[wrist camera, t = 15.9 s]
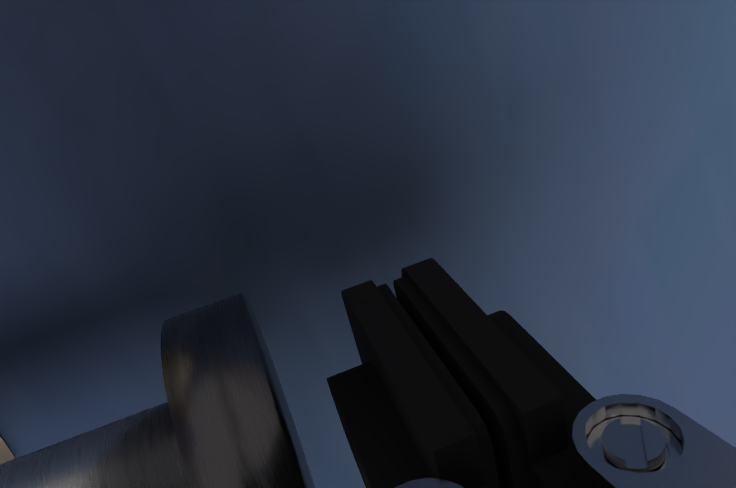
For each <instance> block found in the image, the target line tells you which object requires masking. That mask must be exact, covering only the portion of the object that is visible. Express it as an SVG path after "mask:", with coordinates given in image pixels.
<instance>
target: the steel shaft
mask: <svg viewBox="0 0 736 488" xmlns="http://www.w3.org/2000/svg"><path fill="white" fill-rule="evenodd" d="M161 358H162V369H163V376H164V383H165V389H166V394H167V400H168V402H166V403H163V404H161V405H158V406H155V407H153V408H150V409H147V410H145V411H142V412H139V413H137V414H134V415H131V416H129V417H126V418H123V419H120V420H118V421H115V422H112V423H110V424H107V425H104V426H102V427H99V428H96V429H94V430H91V431H88V432H86V433H83V434H80V435H78V436H75V437H72V438H70V439H67V440H64V441H61V442H59V443H56V444H53V445H51V446H48V447H45V448H43V449H40V450H37V451H35V452H32V453H29V454H27V455H24V456H21V457H19V458H16V459H13V460H11V461H8V462H5V463H3V464H0V488H315V486H314V483H313V479H312V476H311V473H310V470H309V467H308V464H307V461H306V458H305V454H304V451H303V448H302V445H301V442H300V439H299V436H298V433H297V430H296V427H295V424H294V421H293V418H292V415H291V412H290V410H289V407H288V404H287V401H286V398H285V395H284V392H283V389H282V387H281V384H280V381H279V378H278V375H277V373H276V370H275V367H274V364H273V362H272V359H271V356H270V353H269V351H268V348H267V345H266V343H265V340H264V338H263V335H262V332H261V330H260V327H259V325H258V322H257V320H256V317H255V315H254V313H253V310H252V308H251V306H250V304H249V302H248V300H247V298H246V296H245V294H244V293H241V294H238V295H235V296H232V297H230V298H227V299H224V300H221V301H218V302H215V303H212V304H210V305H207V306H204V307H201V308H198V309H195V310H192V311H190V312H187V313H184V314H181V315H178V316H175V317H172V318H170V319H167V320H165V322H164V324H163V327H162V331H161Z"/></svg>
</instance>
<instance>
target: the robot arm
mask: <svg viewBox="0 0 736 488" xmlns="http://www.w3.org/2000/svg"><path fill="white" fill-rule="evenodd" d="M394 289H395V293H396V297H397V298H396V297H395V295H394V294H393V293H392V291H391V290H390V288H389V287H388V286H387V285H386V284H383V285H380V286H377V287H376V285H375V284H374V283H373V281H372V280H370V281H367V282H364V283H362V284H359V285H356V286H353V287H351V288H348V289H345V290H343V291H342V292H341V293H342V298H343V301H344V305H345V308H346V311H347V315H348V318H349V321H350V325H351V328H352V331H353V335H354V338H355V341H356V345H357V348H358V351H359V355H360V358H361V361H362V365H360V366H357V367H355V368H352V369H349V370H347V371H344V372H342V373H339V374H337V375H334V376H332V377H329V378H327V381H328V385H329V388H330V391H331V394H332V397H333V400H334V402H335V405H336V408H337V411H338V414H339V417H340V420H341V423H342V426H343V428H344V431H345V434H346V437H347V439H348V442H349V445H350V447H351V450H352V453H353V455H354V458H355V461H356V463H357V466H358V468H359V471H360V473H361V476H362V478H363V481H364V484H365V486H366V488H736V448H735V447H733V446H732V445H730V444H729V443H727V442H726V441H724V440H723V439H721V438H720V437H718V436H717V435H715V434H714V433H712V432H711V431H709V430H708V429H706V428H705V427H703V426H702V425H700V424H698V423H697V422H695V421H694V420H692V419H691V418H689V417H688V416H686V415H685V414H683V413H682V412H680V411H679V410H677V409H676V408H674V407H672V406H670V405H668V404H666V403H664V402H662V401H660V400H657V399H654V398H650V397H646V396H642V395H631V394H619V395H613V396H606V397H603V398H601V399H598V400H596V399H595V398H594V397H593V396H592V395H591V394H590V393H589V392H588V391H587V390H585V389H584V388H583V387H582V386H581V385H580V384H579V383H578V382H577V381H576V380H575V379H574V378H573V377H572V376H571V375H570V374H569V373H568V372H567V371H566V370H565V369H564V368H563V367H562V366H561V365H560V364H559V363H558V362H557V361H556V360H555V359H554V358H553V357H552V356H551V355H550V354H549V353H548V352H547V351H546V350H545V349H544V348H543V347H542V346H541V345H540V344H539V343H538V342H537V341H536V340H535V339H534V338H533V337H532V336H531V335H530V334H529V333H528V332H527V331H526V330H525V329H524V328H523V327H522V326H521V325H519V324H518V323H517V322H516V321H515V320H514V319H513V318H512V317H511V316H510V315H509V314H508V313H506V312H505V311H501V310H500V311H497V312H495V313H492V314H490V315H486V314H485V313H484V312H483V311H482V310H481V308H480V307H479V306H478V305H477V304H476V303H475V302H474V301H473V300H472V299H471V298H470V297H469V296H468V295H467V294H466V293H465V292H464V291H463V289H462V288H461V287H460V286H459V285H458V284H457V283H456V282H455V281H454V280H453V279H452V278H451V277H450V276H449V275H448V274H447V273H446V272H445V270H444V269H443V268H442V267H441V266H440V265H439V264H438V263H437V262H436V261H435V260H434V259H433V258H430V259H427V260H424V261H421V262H419V263H416V264H413V265H411V266H408V267H405V268H402V278H399V279H396V280H394Z"/></svg>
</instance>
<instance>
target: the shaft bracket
mask: <svg viewBox="0 0 736 488" xmlns="http://www.w3.org/2000/svg"><path fill="white" fill-rule="evenodd" d="M13 459H15V457H14V455H13V454H12V452H11V451H10V450H9V448H8V447H7V445H6V444H5V442H4V441H3V439H2V438H1V437H0V464H3V463H5V462H8V461H11V460H13Z"/></svg>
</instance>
